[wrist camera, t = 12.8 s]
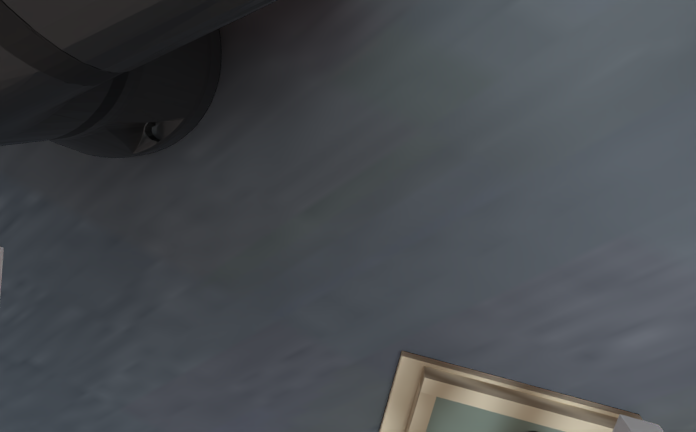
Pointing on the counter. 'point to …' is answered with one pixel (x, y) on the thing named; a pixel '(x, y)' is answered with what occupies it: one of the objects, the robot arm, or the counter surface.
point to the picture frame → (483, 403)
